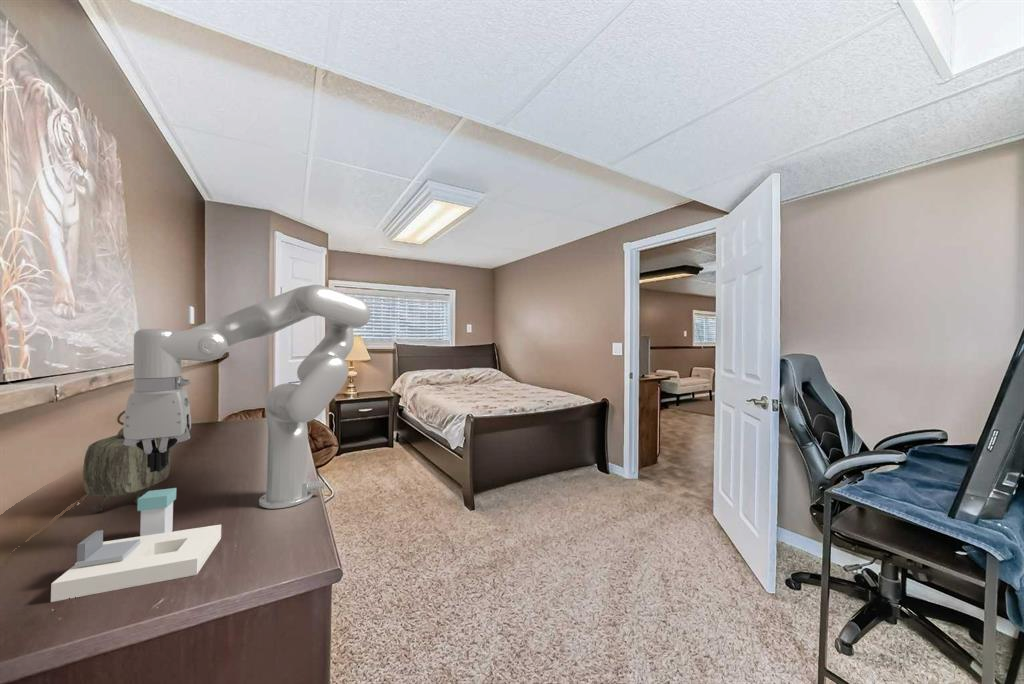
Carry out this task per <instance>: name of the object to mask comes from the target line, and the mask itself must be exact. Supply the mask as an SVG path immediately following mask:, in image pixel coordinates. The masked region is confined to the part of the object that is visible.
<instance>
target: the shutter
mask: <svg viewBox="0 0 1024 684" xmlns="http://www.w3.org/2000/svg"><path fill="white" fill-rule="evenodd" d="M103 542H104V530H103V529H100V530H95V531H94V532H92V533H91V534H89V535H88V536H87V537H86V538H84V539H83V540H82V541H80V542H79V543H77V546H76V562H75V563H74V565H75V568H78V567H84V566H90V565H96V564H103V563H109V562H115V561H121V560H123V559H124V558H125V557H126V556H127V555H128V554H130V553H131V552H132V551H133V550H134V549H135V548H136V547H137V546H138V545H139V544H140V539H138V540H132V541H125V542H118V543H112V544H105V545H103Z"/></svg>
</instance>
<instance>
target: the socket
mask: <svg viewBox="0 0 1024 684" xmlns="http://www.w3.org/2000/svg"><path fill="white" fill-rule="evenodd" d="M138 539H140V544H139V545H138V546H137V547H136V548H135V549H134V550H133V551H132V552H131V553H130V554H128V555H127V556H126V557H125V558H124V559H123V560H121V561H115V562H109V563H103V564H96V565H90V566H84V567H78V568H75V564H74V565H72V566H71V567H70V568H69V569H68V570H67V571H65V572H64V573H63V574H61V576H59V577H57V578H56V579H55V580H54V581H53V582H52V583H51V584H50V585H51V586H50V588H51V589H50V603H55V602H60V601H64V600H65V601H66V600H69V598H70V599H75V597H76V598H79V597H85V596H91V595H95V594H101V593H107V592H112V591H118V590H124V589H128V588H133V587H140V586H145V585H149V584H155V583H159V582H160V583H161V582H165V581H171V580H176V579H177V580H178V579H181V578H186V577H187V578H188V577H192V576H197V575H198V574H199V572H200V571H201V570H202V567H203V566H204V565H205V563H206V562H207V560H208V559H209V557H210V556H211V554H212V553H213V551H214V550H215V548H216V546H217V545H218V544H219V542H220V540H221V539H222V524H217V525H216V524H214V525H208V526H202V527H195V528H188V529H182V530H175V531H173V530H172V532H166V533H160V534H153V535H146V536H134V537H127V538H118V539H113V540H107V541H103V545H105V544H112V543H118V542H125V541H132V540H138Z"/></svg>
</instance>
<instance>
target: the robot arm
mask: <svg viewBox="0 0 1024 684" xmlns="http://www.w3.org/2000/svg"><path fill="white" fill-rule="evenodd" d="M371 315H372V313H371V309H370V306H369V305H368V304H367V303H366V302H365V301H364V300H361V299H360V298H357V297H355V296H352V295H349V294H346V293H344V292H341V291H339V290H337V289H333V288H331V287H328V286H325V285H322V284H311V285H310V284H309V285H304V286H299V287H296V288H294V289H293V288H292V289H291V290H288V291H285V292H283V293H281V294H278V295H275V296H273V297H270V298H268V299H265V300H262V301H260V302H256V303H255V304H252V305H249V306H246V307H244V308H242V309H239V310H238V311H234V312H231V313H229V314H227V315H224V316H220V317H218V318H215V319H213V320H210V321H208V322H205V323H202V324H199V325H197V326H195V327H191V328H189V329H187V330H176V329H169V328H140V329H138V330H137V331H135V333H134V334H133V392H131V393H129V395H128V398H127V402H126V407H125V410H124V411H125V414H124V419H123V423H124V425H123V427H122V428H123V433H124V438H125V440H124V445H125V446H137V447H139V448H140V449H142V450H143V451H144V452H145V453H146V454H147V467H148V468H150V472H155V471H157V472H159V471H161V470H163V469H164V468H165V467H166V466H167V465H168V454H169V449H170V448H171V449H172V447H173V446H175V445H176V444H178V443H182V442H185V441H187V440H190V439H191V435H190V434H191V433H190V430H191V428H192V415H191V407H190V399H189V396H188V392H187V390H186V389H183V387H186V386H190V379H186V378H183V376H182V361H192V362H193V361H196V362H212V361H216V360H218V359H220V358H221V357H223V355H225V353H226V352H227V350H228V348H229V347H230V346H232V345H235V344H238V343H241V342H244V341H247V340H252V339H256V338H257V339H258V338H262V337H266V336H270V335H272V334H274V333H277V332H279V331H281V330H283V329H285V328H287V327H290V326H292V325H294V324H297V323H299V322H301V321H303V320H306V319H308V318H310V317H316V316H317V317H322V318H324V321H325V324H326V325H325V326H326V331H325V332H326V333H325V335H324V336H323V338H322V340H320V342H319V343H318V344H317V346H316V347H315V348H313V350H312V351H311V352H310V353H309V354H308V355H307V356H306V357H305V358H304V360H302V361H301V362H300V364H299V365H298V367H297V371H296V375H297V378H298V380H299V381H300V382H299V384H297V383H289V382H287V383H282V384H278V385H276V386H275V387H273V388H272V389H271V390H270V391H269V392H267V393H268V394H267V396H266V398H265V401H264V412H265V417H266V419H265V420H266V429H267V431H266V433H267V435H266V436H267V441H266V443H267V444H266V448H267V449H266V481H265V482H266V483H265V484H266V486H265V487H266V490H265V491H266V492H265V494H263V495H261V496H260V498H259V500H258V505H259V506H260V507H262V508H264V509H272V510H273V509H274V510H275V509H284V508H289V507H294V506H298V505H300V504H303V503H305V502H307V501H309V500H310V499H312V497H313V495H314V491H322V490H325V483H326V482H325V481H324V482H321V480H315V481H311V480H310V477H309V476H308V441H309V430H308V423H309V422H311V421H313V420H314V419H316V418H318V416H319V415H320V414H322V412H324V410H325V409H326V408H327V407H328V405H329V404H330V403H331V402H332V400H334V398H335V397H336V396H337V394H338V393H339V392H340V390H341V389H342V388H343V387H344V385H345V384H346V382H347V380H348V377H349V366H348V363H347V362H346V358H348V356H349V355H350V353H351V351H352V350H353V347H354V343H355V342H354V340H355V339H354V337H355V335H354V329H359V328H362V327H365V326H366V325H367V324H368V323H369V321H370V320H371ZM160 438H161V442H160V448H159V450H158V448H157V443H156V439H160ZM319 487H320V489H319Z"/></svg>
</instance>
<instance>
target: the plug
mask: <svg viewBox="0 0 1024 684" xmlns="http://www.w3.org/2000/svg"><path fill="white" fill-rule="evenodd" d="M139 497H140V498H139V499H138V504H136V505H137V506H136V507H137V509H136V510H137V512H140V527H139V528H140V529H139V530H140V532H139V535H140V536H146V535H153V534H160V533H166V532H173V528H174V527H173V524H174V523H173V522H174V521H173V520H174V518H173V517H174V501H175V500H177V487H172V488H171V487H170V488H165V489H164V488H163V489H154V490H148V491H146V493H145V494H143V495H140V496H139Z"/></svg>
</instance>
